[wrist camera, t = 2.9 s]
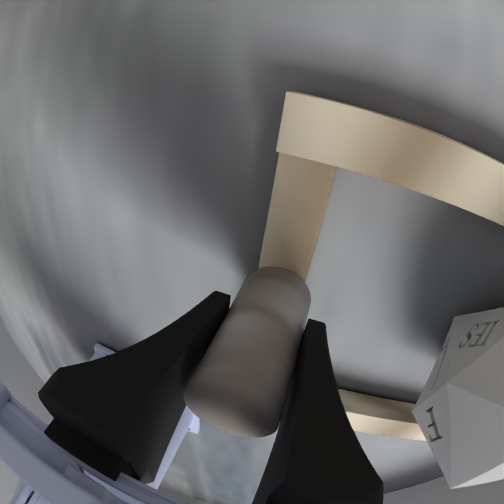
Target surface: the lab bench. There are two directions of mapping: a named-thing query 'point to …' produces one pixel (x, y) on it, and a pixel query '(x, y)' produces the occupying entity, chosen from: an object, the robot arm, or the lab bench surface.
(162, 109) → the lab bench surface
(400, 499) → the long grey block
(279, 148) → the tan frame
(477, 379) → the die
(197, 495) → the lab bench surface
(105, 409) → the robot arm
